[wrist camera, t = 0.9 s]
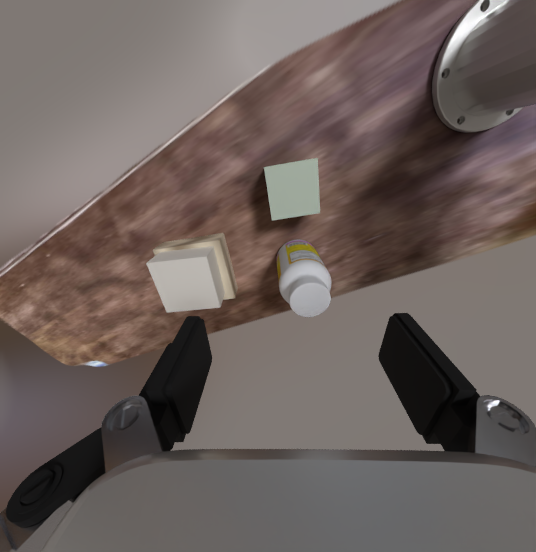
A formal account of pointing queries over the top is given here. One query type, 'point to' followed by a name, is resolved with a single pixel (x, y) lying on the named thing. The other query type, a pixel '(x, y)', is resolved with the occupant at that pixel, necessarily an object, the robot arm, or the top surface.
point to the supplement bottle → (303, 278)
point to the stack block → (293, 189)
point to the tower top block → (188, 279)
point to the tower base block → (221, 255)
